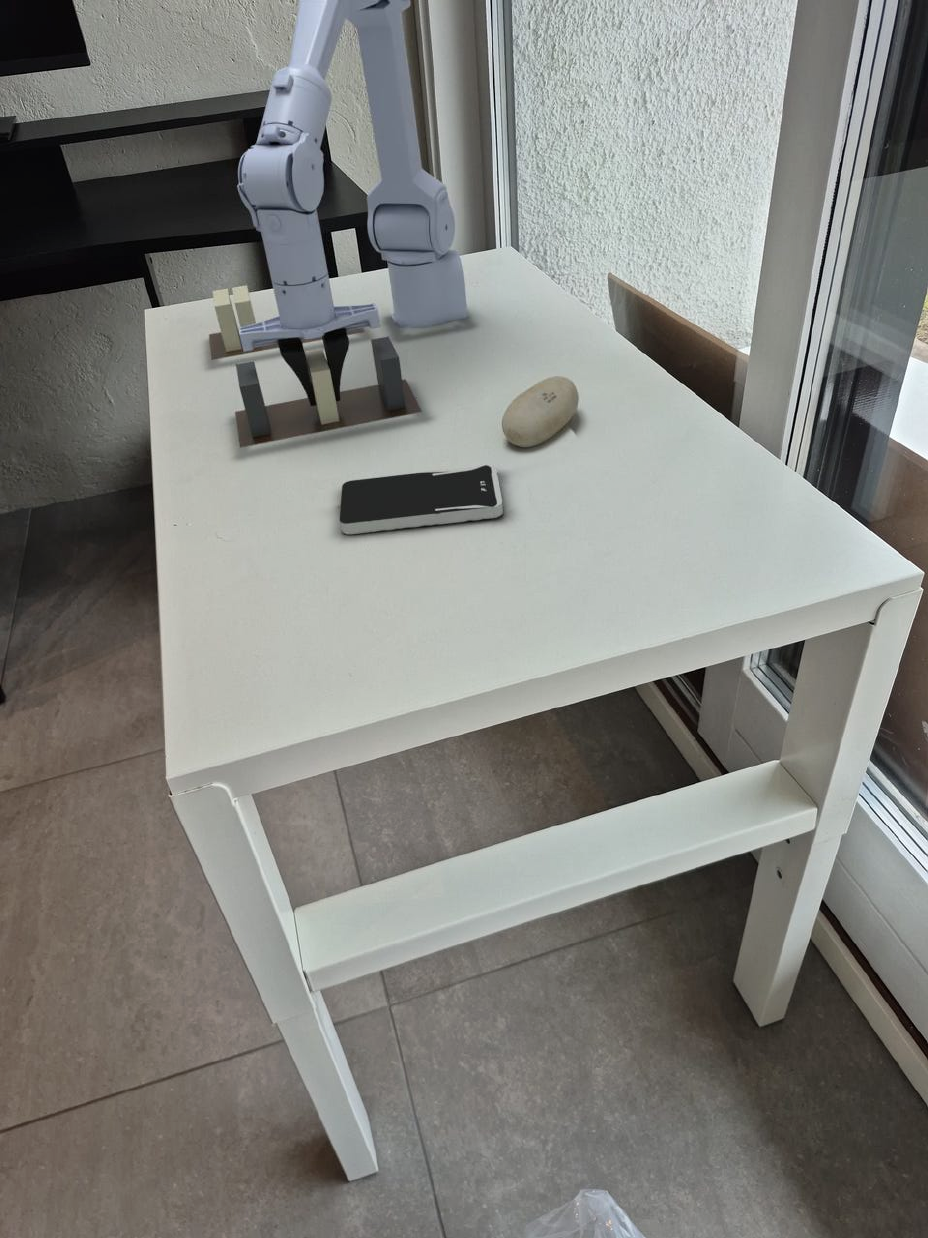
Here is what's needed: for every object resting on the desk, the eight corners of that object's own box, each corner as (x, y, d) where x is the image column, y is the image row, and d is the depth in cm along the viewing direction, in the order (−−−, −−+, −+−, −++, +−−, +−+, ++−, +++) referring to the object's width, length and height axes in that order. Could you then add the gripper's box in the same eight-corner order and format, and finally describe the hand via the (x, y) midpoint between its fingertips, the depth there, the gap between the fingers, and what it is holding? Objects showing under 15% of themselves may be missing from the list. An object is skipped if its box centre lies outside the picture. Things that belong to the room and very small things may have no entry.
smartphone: (342, 481, 88) (495, 463, 88) (345, 493, 89) (496, 475, 89) (339, 524, 82) (502, 505, 82) (341, 536, 83) (503, 518, 83)
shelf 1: (355, 315, 125) (354, 308, 125) (366, 338, 118) (365, 331, 118) (210, 341, 122) (208, 334, 122) (213, 366, 115) (211, 359, 115)
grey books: (395, 386, 104) (388, 335, 100) (406, 408, 100) (399, 356, 96) (248, 414, 102) (235, 364, 98) (252, 438, 97) (239, 386, 93)
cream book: (331, 398, 103) (322, 348, 99) (339, 421, 98) (329, 369, 95) (314, 401, 103) (304, 351, 99) (321, 424, 98) (310, 372, 94)
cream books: (257, 329, 121) (247, 284, 118) (261, 345, 117) (250, 299, 113) (224, 335, 121) (212, 290, 117) (226, 352, 116) (214, 306, 112)
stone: (594, 385, 96) (562, 404, 86) (571, 438, 99) (537, 462, 89) (546, 362, 97) (509, 378, 87) (525, 415, 100) (486, 437, 90)
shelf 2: (406, 386, 106) (405, 378, 105) (423, 419, 99) (422, 411, 99) (236, 419, 103) (234, 411, 103) (241, 455, 96) (239, 447, 96)
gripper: (229, 301, 87) (261, 428, 96) (376, 275, 89) (395, 402, 98) (226, 278, 92) (256, 400, 101) (364, 254, 94) (383, 376, 103)
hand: (324, 399), depth 100 cm, fingers closed on cream book, 2 cm apart
